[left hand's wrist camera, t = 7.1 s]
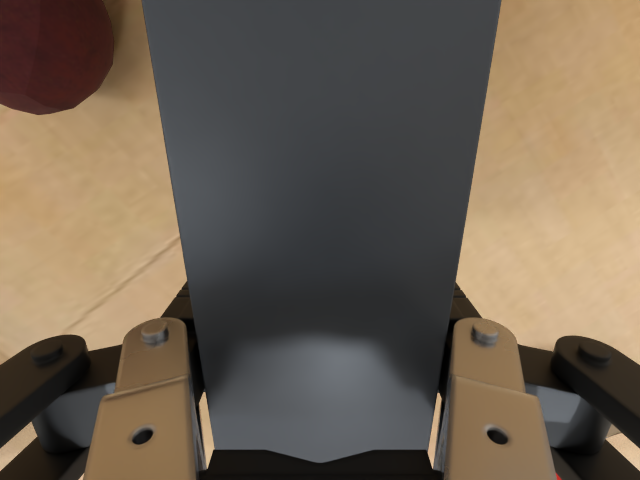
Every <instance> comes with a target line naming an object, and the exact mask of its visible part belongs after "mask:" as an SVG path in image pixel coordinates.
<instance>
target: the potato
mask: <svg viewBox="0 0 640 480" xmlns="http://www.w3.org/2000/svg"><path fill="white" fill-rule="evenodd" d="M113 51H114V39H113V33H112V27H111V21H110V19H109V16H108V13H107V11H106V8H105V6H104V3H103V1H102V0H0V104H2V105H5V106H7V107H9V108H11V109H15V110H19V111H23V112H28V113H32V114H36V115H43V114H51V113H55V112H59V111H63V110H68V109H72V108H74V107H76V106H77V105H78V104H80V103H81V102H82V101H84V100H85V99H86V98H88V97H89V96H90V95H91V94H93V93H94V92H95V91H96V90H97V89H98V88H99V87H100V85H101V84H102V82H103V80H104V78H105V77H106V75H107V73H108V72H109V70H110V68H111V66H112V65H113Z"/></svg>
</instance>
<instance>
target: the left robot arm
mask: <svg viewBox="0 0 640 480" xmlns="http://www.w3.org/2000/svg"><path fill="white" fill-rule="evenodd" d="M203 392H205V386H204V379H203V373H202V367H201V361H200V355H199V349H198V343H197V337H196V330H195V324H194V318H193V312H192V306H191V300H190V294H189V287H188V281H187V282H186V283H185V284H184V286H183V287H182V290H180V291H179V293H178V294H177V295H176V297H175V298H174V300H173V301H172V302H171V304H170V305H169V306H168V308H167V309H166V311H165V312H164V313H163V315H162V316H161V317H160V318H157V319H153V320H149V321H146V322H144V323H141V324H140V325H138V326H136V327H134V328H133V329H132V330H130V331H129V332H128V333H127V334H126V336H125V338H124V340H123V344H122V345H118V346H113V347H108V348H103V349H98V350H93V351H88V349H87V345H86V342H85V340H84V339H83V338H82V337H80V336H77V335H60V336H55V337H51V338H47V339H45V340H42V341H39V342H37V343H35V344H33V345H31V346H29V347H27V348H25V349H24V350H22V351H21V352H19V353H18V354H16V355H15V356H13V357H12V358H10V359H9V360H7V361H6V362H4V363H3V364H1V365H0V448H1V447H2V446H4V445H5V444H6V443H7V442H8V441H9V440H10V439H12V438H13V437H14V436H15V435H16V434H17V433H18V432H20V431H21V430H22V429H23V428H24V427H25V426H26V425H28V424H29V423H30V422H32V424H33V426H34V429H35V431H36V434H37V436H38V437H36V438H35V439H34V440H33V441H32V442H31V443H30V444H29V445H28V446H27V447H26V448H25V449H24V450H23V451H22V452H20V453H19V454H18V455H17V456H16V457H15V458H14V459H13V460H12V461H11V462H10V463H9V464H8V465H7V466H5V467H4V468H3V469H2V470H1V471H0V480H78V479H79V478H80V477H81V476H82V475H83V473H84V472H85V473H84V477H83V480H557V477H556V473H557V475H558V476H559V477H560V478H561V479H562V480H640V471H639V470H638V469H637V468H636V467H635V466H633V465H632V464H631V463H630V462H629V461H628V460H627V459H626V458H625V457H624V456H623V455H622V454H621V453H620V452H619V451H617V450H616V449H615V448H614V447H613V446H612V445H611V444H610V443H609V442H608V441H607V440H606V436H607V434H608V431H609V429H610V427H611V424H613V425H614V426H615V427H616V428H617V429H618V430H619V431H620V432H622V433H623V434H624V435H625V436H626V437H627V438H628V439H630V440H631V441H632V442H633V443H634V444H635V445H636V446H638V447H639V448H640V365H639V364H637V363H636V362H634V361H633V360H631V359H630V358H628V357H627V356H625V355H624V354H622V353H621V352H619V351H618V350H616V349H614V348H613V347H611V346H609V345H607V344H605V343H602V342H600V341H597V340H594V339H590V338H587V337H582V336H564V337H561V338H559V339H558V340H557V342H556V344H555V348H554V351H553V352H552V351H547V350H542V349H537V348H532V347H527V346H523V345H519V344H517V340H516V338H515V336H514V335H513V333H512V332H511V331H510V330H508V329H507V328H506V327H504V326H502V325H500V324H499V323H496V322H494V321H491V320H487V319H483V318H482V317H481V316H480V314H479V313H478V312H477V310H476V309H475V308H474V306H473V305H472V304H471V302H470V301H469V299H468V298H466V295H465V294H464V293H463V291H462V290H460V287H459V286H458V285H457V283H456V282H455V288H454V294H453V300H452V306H451V312H450V318H449V325H448V331H447V337H446V343H445V349H444V355H443V361H442V367H441V373H440V380H439V386H438V392H437V393H440V396H441V398H442V400H441V406H440V412H439V421H438V430H437V439H436V449H435V458H434V467H433V469H432V466H431V463H430V460H429V456H428V453H427V450H371V451H367V452H363V453H359V454H355V455H351V456H347V457H343V458H340V459H336V460H332V461H328V462H323V463H317V462H312V461H308V460H304V459H300V458H297V457H293V456H289V455H285V454H281V453H277V452H273V451H269V450H213V453H212V456H211V460H210V463H209V466H208V469H207V467H206V458H205V449H204V440H203V430H202V421H201V412H200V406H199V402H200V399H201V397H202V394H203ZM555 472H556V473H555Z"/></svg>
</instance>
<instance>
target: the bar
mask: <svg viewBox="0 0 640 480" xmlns="http://www.w3.org/2000/svg"><path fill="white" fill-rule="evenodd" d="M142 6H143V12H144V18H145V24H146V30H147V36H148V42H149V49H150V55H151V61H152V67H153V73H154V79H155V85H156V91H157V98H158V104H159V110H160V116H161V122H162V128H163V134H164V140H165V147H166V153H167V159H168V165H169V171H170V177H171V183H172V189H173V196H174V202H175V208H176V214H177V220H178V226H179V232H180V238H181V245H182V251H183V257H184V263H185V269H186V275H187V281H188V287H189V294H190V300H191V306H192V312H193V318H194V324H195V330H196V337H197V343H198V349H199V355H200V361H201V367H202V373H203V379H204V386H205V392H206V398H207V404H208V410H209V416H210V422H211V428H212V435H213V441H214V447H215V450H269V451H273V452H277V453H281V454H285V455H289V456H293V457H297V458H300V459H304V460H308V461H312V462H317V463H323V462H328V461H332V460H336V459H340V458H343V457H347V456H351V455H355V454H359V453H363V452H367V451H371V450H427V453H428V447H429V441H430V435H431V429H432V422H433V416H434V410H435V404H436V398H437V392H438V386H439V380H440V373H441V367H442V361H443V355H444V349H445V343H446V337H447V331H448V325H449V318H450V312H451V306H452V300H453V294H454V288H455V282H456V276H457V269H458V263H459V257H460V251H461V245H462V239H463V233H464V227H465V220H466V214H467V208H468V202H469V196H470V190H471V184H472V178H473V171H474V165H475V159H476V153H477V147H478V141H479V135H480V129H481V122H482V116H483V110H484V104H485V98H486V92H487V86H488V80H489V73H490V67H491V61H492V55H493V49H494V43H495V37H496V31H497V24H498V18H499V12H500V6H501V0H142Z"/></svg>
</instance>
